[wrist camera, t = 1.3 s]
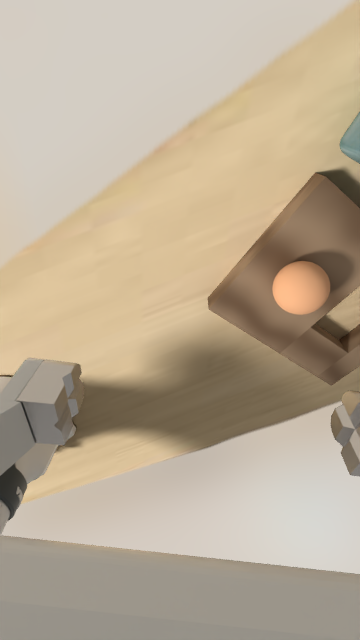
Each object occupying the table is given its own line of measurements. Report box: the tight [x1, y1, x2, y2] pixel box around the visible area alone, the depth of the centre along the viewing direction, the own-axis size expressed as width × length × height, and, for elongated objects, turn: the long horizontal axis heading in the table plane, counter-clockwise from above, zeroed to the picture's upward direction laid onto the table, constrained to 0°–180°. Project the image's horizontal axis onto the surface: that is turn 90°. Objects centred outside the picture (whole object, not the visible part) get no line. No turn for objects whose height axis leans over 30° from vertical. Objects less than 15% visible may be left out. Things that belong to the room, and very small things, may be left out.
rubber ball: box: [272, 261, 330, 315], centre depth 27 cm, size 5×5×5 cm
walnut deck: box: [208, 173, 360, 385], centre depth 32 cm, size 16×20×2 cm
